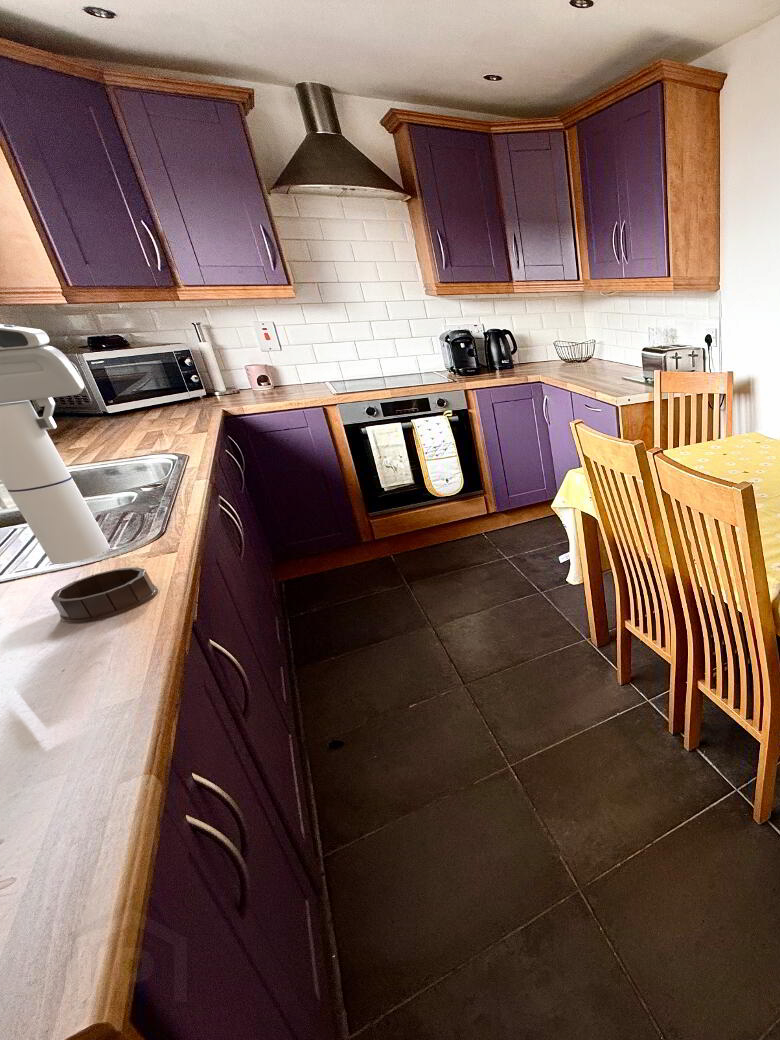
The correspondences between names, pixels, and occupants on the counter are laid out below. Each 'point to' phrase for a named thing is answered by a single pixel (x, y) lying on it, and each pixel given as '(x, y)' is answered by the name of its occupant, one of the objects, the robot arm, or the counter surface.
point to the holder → (104, 595)
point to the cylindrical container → (45, 488)
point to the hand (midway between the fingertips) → (11, 434)
